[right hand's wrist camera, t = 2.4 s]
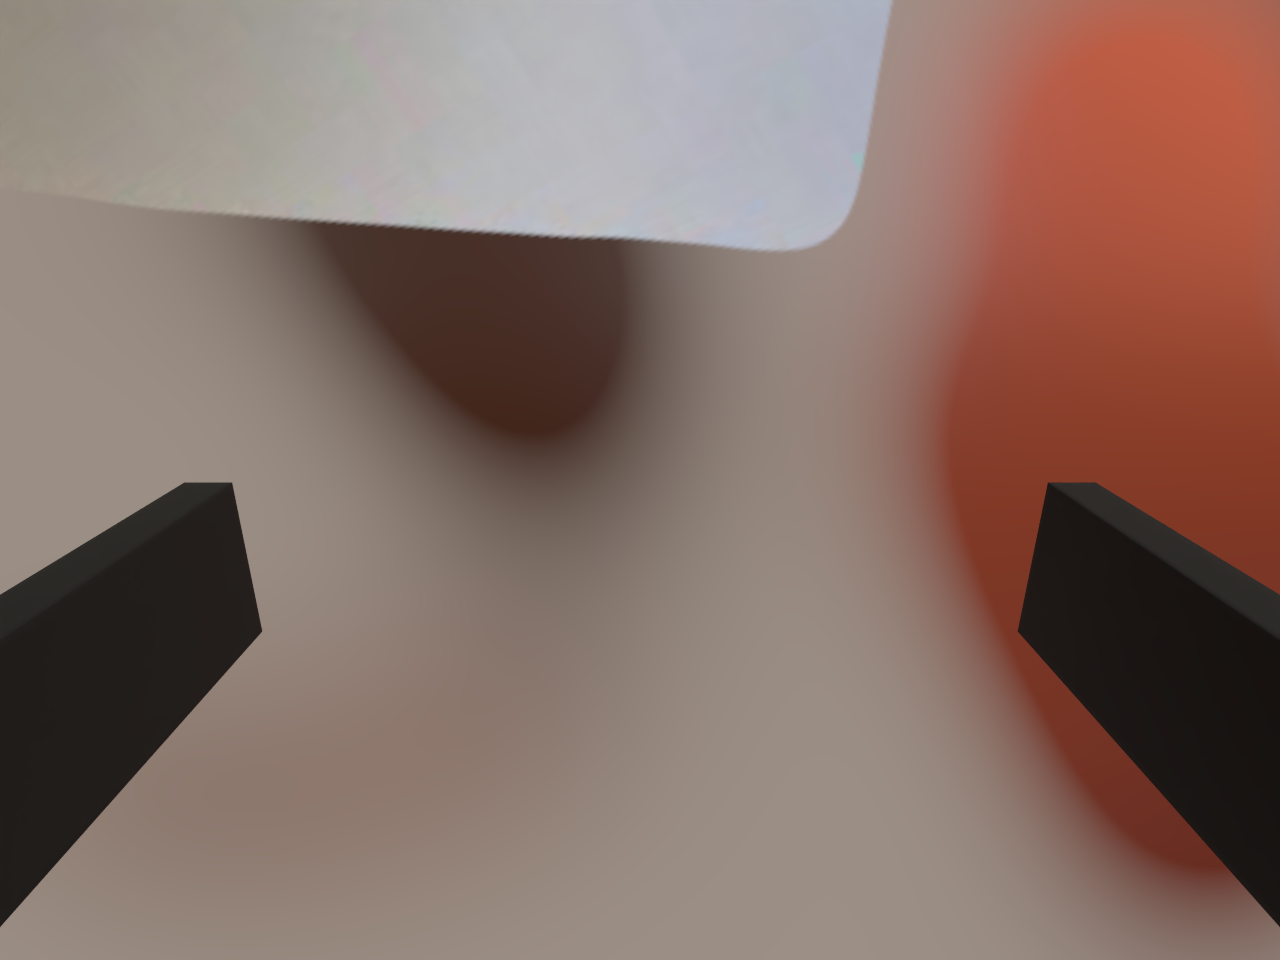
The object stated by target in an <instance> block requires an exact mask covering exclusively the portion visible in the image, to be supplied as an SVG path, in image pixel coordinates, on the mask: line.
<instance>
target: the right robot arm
mask: <svg viewBox="0 0 1280 960" xmlns="http://www.w3.org/2000/svg"><path fill="white" fill-rule="evenodd" d="M261 632H262V628H261V623H260V618H259V613H258V608H257V603H256V598H255V593H254V588H253V584H252V579H251V574H250V569H249V564H248V559H247V554H246V549H245V544H244V540H243V534H242V529H241V525H240V520H239V515H238V510H237V505H236V500H235V495H234V490H233V485H232V483H183V484H181V485H180V486H178V487H177V488H175V489H173V490H172V491H170V492H168V493H167V494H165V495H163V496H162V497H160V498H158V499H157V500H155V501H153V502H152V503H150V504H149V505H147V506H145V507H144V508H142V509H140V510H139V511H137V512H135V513H134V514H132V515H130V516H129V517H127V518H126V519H124V520H122V521H121V522H119V523H117V524H116V525H114V526H112V527H111V528H109V529H107V530H106V531H104V532H103V533H101V534H99V535H98V536H96V537H94V538H93V539H91V540H89V541H88V542H86V543H84V544H83V545H81V546H80V547H78V548H76V549H75V550H73V551H71V552H70V553H68V554H67V555H65V556H63V557H62V558H60V559H58V560H57V561H55V562H53V563H52V564H50V565H48V566H47V567H45V568H43V569H42V570H40V571H39V572H37V573H35V574H34V575H32V576H30V577H29V578H27V579H25V580H24V581H22V582H20V583H19V584H17V585H16V586H14V587H12V588H11V589H9V590H7V591H6V592H4V593H2V594H1V595H0V927H1V925H2V924H3V923H4V922H5V921H6V920H7V919H8V917H9V916H10V915H11V914H12V913H13V912H14V911H15V910H16V908H17V907H18V906H19V905H20V904H21V903H22V902H23V901H24V899H25V898H26V897H27V896H28V895H29V894H30V893H31V892H32V890H33V889H34V888H35V887H36V886H37V885H38V884H39V883H40V881H41V880H42V879H43V878H44V877H45V876H46V875H47V874H48V872H49V871H50V870H51V869H52V868H53V867H54V866H55V864H56V863H57V862H58V861H59V860H60V859H61V858H62V857H63V855H64V854H65V853H66V852H67V851H68V850H69V849H70V848H71V846H72V845H73V844H74V843H75V842H76V841H77V840H78V839H79V837H80V836H81V835H82V834H83V833H84V832H85V831H86V830H87V828H88V827H89V826H90V825H91V824H92V823H93V822H94V820H95V819H96V818H97V817H98V816H99V815H100V814H101V813H102V811H103V810H104V809H105V808H106V807H107V806H108V805H109V804H110V802H111V801H112V800H113V799H114V798H115V797H116V796H117V795H118V793H119V792H120V791H121V790H122V789H123V788H124V787H125V785H126V784H127V783H128V782H129V781H130V780H131V779H132V778H133V776H134V775H135V774H136V773H137V772H138V771H139V770H140V769H141V767H142V766H143V765H144V764H145V763H146V762H147V761H148V759H149V758H150V757H151V756H152V755H153V754H154V753H155V752H156V751H157V749H158V748H159V747H160V746H161V745H162V744H163V743H164V741H165V740H166V739H167V738H168V737H169V736H170V735H171V734H172V732H173V731H174V730H175V729H176V728H177V727H178V726H179V725H180V723H181V722H182V721H183V720H184V719H185V718H186V717H187V715H188V714H189V713H190V712H191V711H192V710H193V709H194V708H195V707H196V705H197V704H198V703H199V702H200V701H201V700H202V699H203V698H204V696H205V695H206V694H207V693H208V692H209V691H210V690H211V689H212V687H213V686H214V685H215V684H216V683H217V682H218V681H219V679H220V678H221V677H222V676H223V675H224V674H225V673H226V672H227V670H228V669H229V668H230V667H231V666H232V665H233V664H234V663H235V661H236V660H237V659H238V658H239V657H240V656H241V655H242V654H243V652H244V651H245V650H246V649H247V648H248V647H249V646H250V645H251V643H252V642H253V641H254V640H255V639H256V638H257V637H258V636H259V634H260V633H261ZM1018 632H1019V633H1020V634H1021V636H1022V637H1023V638H1024V639H1025V640H1026V641H1027V642H1028V643H1029V644H1030V646H1031V647H1032V648H1033V649H1034V650H1035V651H1036V652H1037V654H1038V655H1039V656H1040V657H1041V658H1042V659H1043V660H1044V661H1045V663H1046V664H1047V665H1048V666H1049V667H1050V668H1051V669H1052V670H1053V672H1054V673H1055V674H1056V675H1057V676H1058V677H1059V678H1060V679H1061V681H1062V682H1063V683H1064V684H1065V685H1066V686H1067V687H1068V688H1069V690H1070V691H1071V692H1072V693H1073V694H1074V695H1075V696H1076V698H1077V699H1078V700H1079V701H1080V702H1081V703H1082V704H1083V705H1084V707H1085V708H1086V709H1087V710H1088V711H1089V712H1090V713H1091V714H1092V716H1093V717H1094V718H1095V719H1096V720H1097V721H1098V722H1099V723H1100V725H1101V726H1102V727H1103V728H1104V729H1105V730H1106V731H1107V733H1108V734H1109V735H1110V736H1111V737H1112V738H1113V739H1114V740H1115V741H1116V743H1117V744H1118V745H1119V746H1120V747H1121V748H1122V749H1123V751H1124V752H1125V753H1126V754H1127V755H1128V756H1129V757H1130V758H1131V760H1132V761H1133V762H1134V763H1135V764H1136V765H1137V766H1138V767H1139V769H1140V770H1141V771H1142V772H1143V773H1144V774H1145V775H1146V777H1147V778H1148V779H1149V780H1150V781H1151V782H1152V783H1153V784H1154V785H1155V787H1156V788H1157V789H1158V790H1159V791H1160V792H1161V793H1162V794H1163V796H1164V797H1165V798H1166V799H1167V800H1168V801H1169V802H1170V804H1171V805H1172V806H1173V807H1174V808H1175V809H1176V810H1177V811H1178V813H1179V814H1180V815H1181V816H1182V817H1183V818H1184V819H1185V820H1186V821H1187V823H1188V824H1189V825H1190V826H1191V827H1192V828H1193V829H1194V831H1195V832H1196V833H1197V834H1198V835H1199V836H1200V837H1201V839H1202V840H1203V841H1204V842H1205V843H1206V844H1207V845H1208V846H1209V848H1210V849H1211V850H1212V851H1213V852H1214V853H1215V854H1216V855H1217V857H1218V858H1219V859H1220V860H1221V861H1222V862H1223V863H1224V864H1225V866H1226V867H1227V868H1228V869H1229V870H1230V871H1231V872H1232V873H1233V875H1234V876H1235V877H1236V878H1237V879H1238V880H1239V881H1240V883H1241V884H1242V885H1243V886H1244V887H1245V888H1246V889H1247V890H1248V892H1249V893H1250V894H1251V895H1252V896H1253V897H1254V898H1255V899H1256V901H1257V902H1258V903H1259V904H1260V905H1261V906H1262V907H1263V908H1264V910H1265V911H1266V912H1267V913H1268V914H1269V915H1270V916H1271V918H1272V919H1273V920H1274V921H1275V922H1276V923H1277V924H1278V925H1279V927H1280V595H1279V594H1278V593H1276V592H1274V591H1273V590H1271V589H1269V588H1268V587H1266V586H1264V585H1263V584H1261V583H1260V582H1258V581H1256V580H1255V579H1253V578H1251V577H1250V576H1248V575H1246V574H1245V573H1243V572H1241V571H1240V570H1238V569H1236V568H1235V567H1233V566H1232V565H1230V564H1228V563H1227V562H1225V561H1223V560H1222V559H1220V558H1218V557H1217V556H1215V555H1214V554H1212V553H1210V552H1209V551H1207V550H1205V549H1204V548H1202V547H1200V546H1199V545H1197V544H1196V543H1194V542H1192V541H1191V540H1189V539H1187V538H1186V537H1184V536H1182V535H1181V534H1179V533H1177V532H1176V531H1174V530H1173V529H1171V528H1169V527H1168V526H1166V525H1164V524H1163V523H1161V522H1159V521H1158V520H1156V519H1154V518H1153V517H1151V516H1150V515H1148V514H1146V513H1145V512H1143V511H1141V510H1140V509H1138V508H1136V507H1135V506H1133V505H1131V504H1130V503H1128V502H1127V501H1125V500H1123V499H1122V498H1120V497H1118V496H1117V495H1115V494H1113V493H1112V492H1110V491H1108V490H1107V489H1105V488H1103V487H1102V486H1100V485H1099V484H1097V483H1048V485H1047V490H1046V495H1045V500H1044V505H1043V510H1042V515H1041V519H1040V524H1039V530H1038V534H1037V539H1036V544H1035V549H1034V554H1033V559H1032V564H1031V569H1030V574H1029V579H1028V584H1027V588H1026V593H1025V598H1024V603H1023V608H1022V613H1021V618H1020V623H1019V628H1018Z"/></svg>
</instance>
